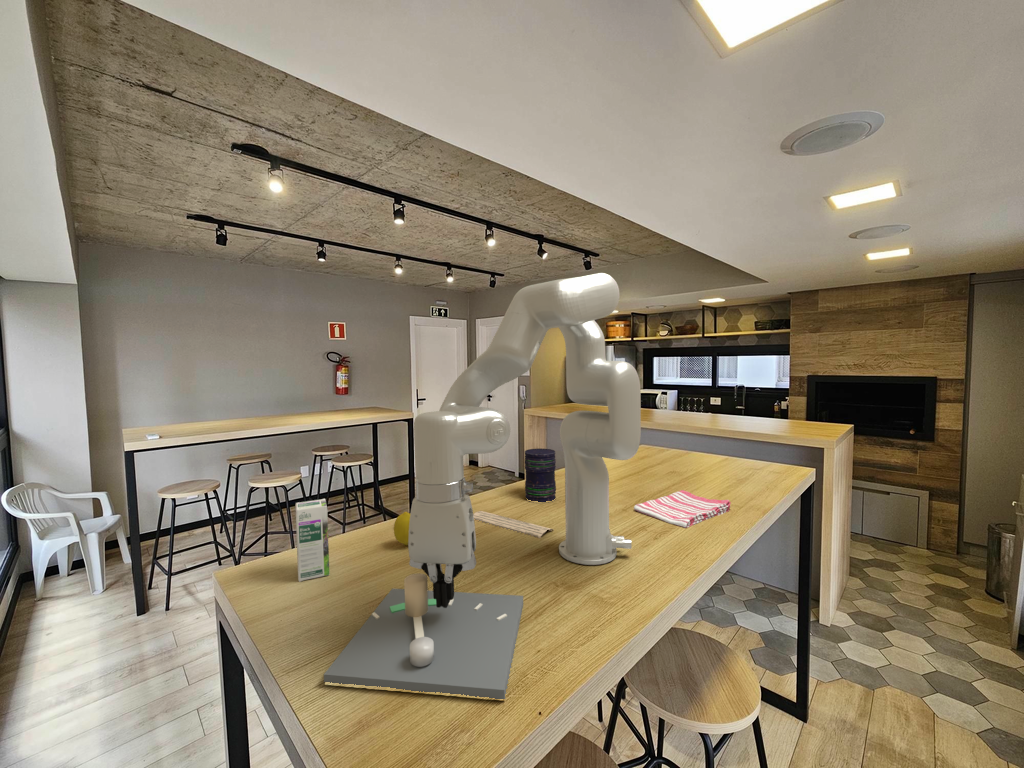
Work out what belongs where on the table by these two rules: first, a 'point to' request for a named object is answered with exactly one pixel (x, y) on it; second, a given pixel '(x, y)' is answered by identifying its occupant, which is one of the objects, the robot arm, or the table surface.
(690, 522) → the dish towel
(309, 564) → the syrup box
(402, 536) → the lemon
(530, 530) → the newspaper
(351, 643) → the dial board
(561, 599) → the table surface
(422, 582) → the tuning lever
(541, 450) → the storage jar
